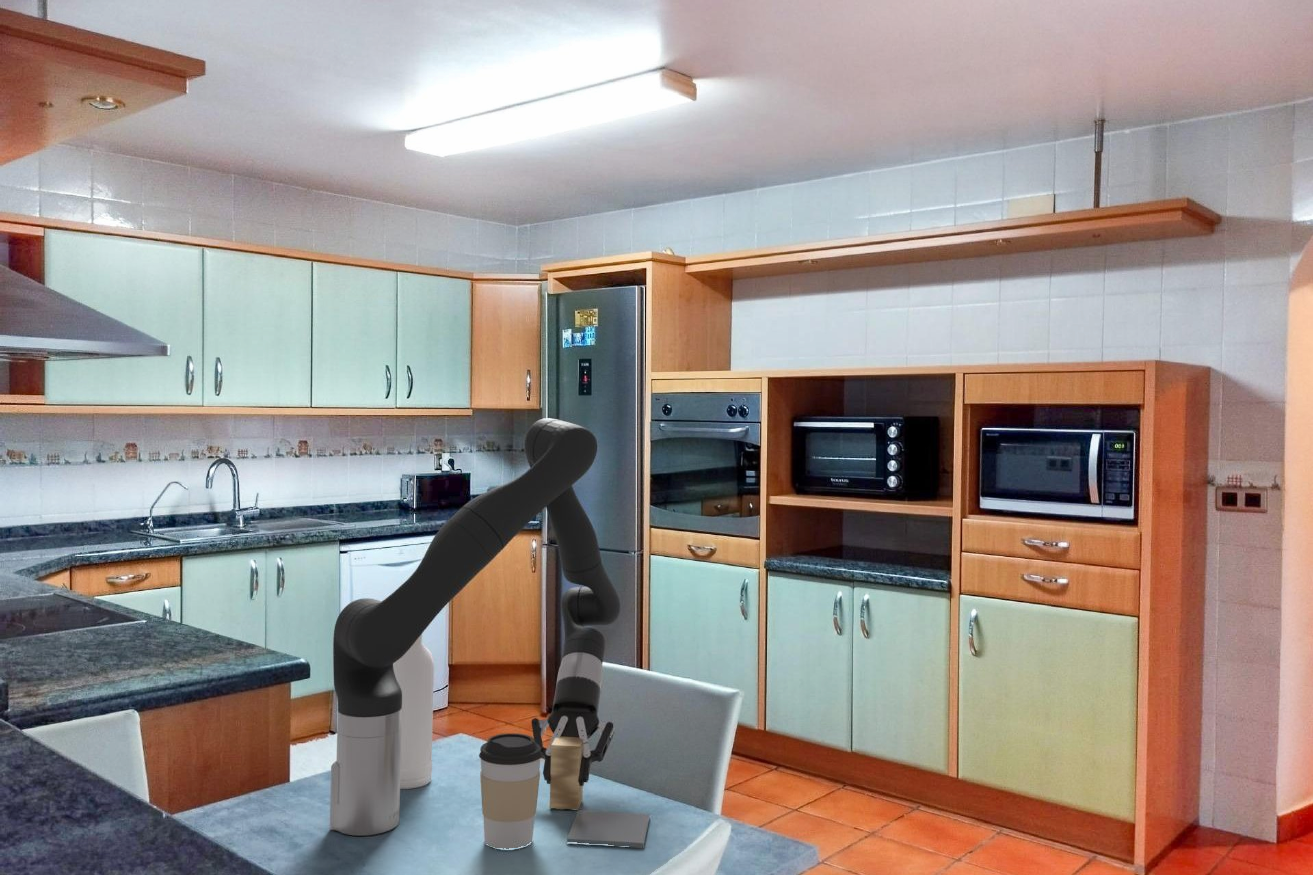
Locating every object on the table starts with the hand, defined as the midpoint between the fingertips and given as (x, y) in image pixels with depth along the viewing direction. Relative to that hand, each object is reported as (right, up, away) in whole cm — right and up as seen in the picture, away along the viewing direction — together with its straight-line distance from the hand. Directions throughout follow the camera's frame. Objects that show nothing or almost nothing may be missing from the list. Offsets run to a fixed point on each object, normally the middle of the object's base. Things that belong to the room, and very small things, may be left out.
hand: (565, 782), depth 159 cm
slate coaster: (+7, -4, -8) cm, 12 cm away
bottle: (-27, -4, +11) cm, 30 cm away
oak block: (0, -4, +2) cm, 5 cm away
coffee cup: (-7, -4, -13) cm, 15 cm away
